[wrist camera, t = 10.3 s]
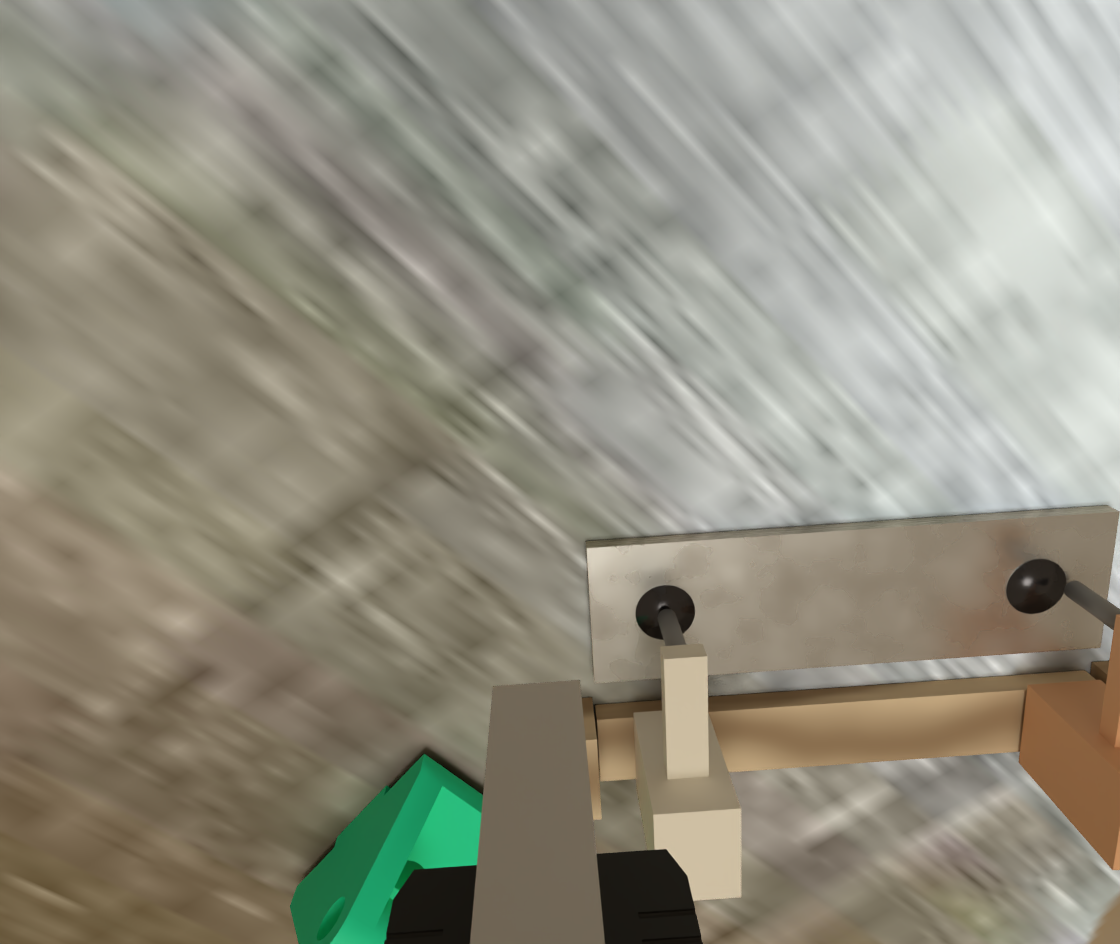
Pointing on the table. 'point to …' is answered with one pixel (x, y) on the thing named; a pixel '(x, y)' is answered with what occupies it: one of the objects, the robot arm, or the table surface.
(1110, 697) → the slider leg
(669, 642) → the fixed leg
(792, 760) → the rail
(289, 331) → the table surface
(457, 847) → the camera mount
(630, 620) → the hole plate
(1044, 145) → the table surface
